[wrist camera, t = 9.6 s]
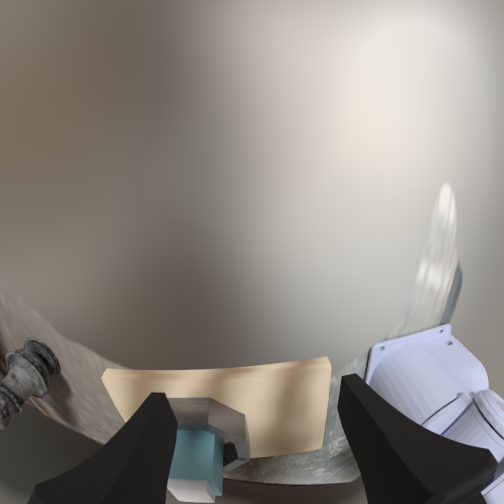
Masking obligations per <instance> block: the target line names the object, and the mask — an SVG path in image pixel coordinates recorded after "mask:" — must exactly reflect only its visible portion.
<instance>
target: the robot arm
mask: <svg viewBox="0 0 504 504" xmlns="http://www.w3.org/2000/svg"><path fill="white" fill-rule="evenodd" d="M451 328H452V326H451V325H450V324H445V325H442V326H439V327H436V328H432V329H429V330H426V331H422V332H419V333H415V334H412V335H408V336H404V337H400V338H397V339H393V340H389V341H385V342H380V343H376V344H374V345H373V346H372V347H371V350H370V356H369V362H368V367H367V373H366V378H365V381H364V380H363V379H362V378H361V377H359V376H358V375H357V374H356V373H355V374H350V375H345V376H342V378H341V386H340V393H339V400H338V406H337V409H338V413H339V417H340V420H341V424H342V428H343V430H344V433H345V435H346V438H347V440H348V442H349V445H350V447H351V450H352V452H353V455H354V457H355V459H356V462H357V464H358V467H359V470H360V473H361V476H362V479H363V484H364V487H365V492H366V496H367V500H368V504H504V400H503V399H501V398H500V397H499V396H498V395H497V394H496V393H494V392H493V391H492V390H490V389H488V378H487V374H486V371H485V369H484V367H483V365H482V364H481V363H480V362H479V361H478V359H477V358H475V357H474V356H473V355H472V354H471V353H470V352H469V351H468V350H467V349H466V348H465V347H464V346H463V345H462V344H461V343H460V342H459V341H458V340H457V339H456V338H455V337H453V336H452V335H451V334H450V332H451ZM381 347H382V348H381ZM380 348H381V349H380ZM177 426H178V422H177V420H176V417H175V415H174V413H173V410H172V408H171V406H170V403H169V401H168V399H167V396H166V394H165V392H151V393H150V394H149V396H148V397H147V398H146V399H145V400H144V402H143V403H142V404H141V405H140V407H139V408H138V409H137V410H136V412H135V413H134V414H133V415H132V416H131V418H130V419H129V420H128V421H127V422H126V423H125V424H124V426H123V427H122V428H121V429H120V430H119V431H118V432H117V433H116V434H115V435H114V436H113V437H112V438H111V439H110V440H109V441H108V442H107V443H106V444H105V445H104V446H103V447H102V448H100V449H99V450H98V451H97V452H96V453H94V454H93V455H92V456H91V457H89V458H88V459H87V460H85V461H83V462H82V463H80V464H79V465H77V466H76V467H74V468H72V469H71V470H69V471H67V472H65V473H63V474H61V475H59V476H57V477H55V478H52V479H50V480H47V481H44V482H42V483H39V484H36V485H35V487H34V489H33V492H32V494H31V496H30V499H29V501H28V503H27V504H165V499H166V488H167V482H168V478H169V473H170V468H171V464H172V459H173V455H174V450H175V445H176V439H177Z"/></svg>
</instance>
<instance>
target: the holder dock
mask: <svg viewBox="0 0 504 504" xmlns="http://www.w3.org/2000/svg"><path fill="white" fill-rule="evenodd" d="M101 379H102V381H103V383H104V385H105V387H106V389H107V391H108V393H109V395H110V397H111V398H112V400H113V402H114V404H115V406H116V407H117V409H118V411H119V413H120V414H121V416H122V418H123V419H124V421H125V423H126V422H127V421H128V420H129V419H130V418H131V416H132V415H133V414H134V413H135V412H136V410H137V409H138V408H139V407H140V405H141V404H142V403H143V402H144V400H145V399H146V398H147V397H148V396H149V394H150V393H151V392H165V394H166V396H167V399H168V401H169V403H170V406H171V408H172V410H173V413H174V415H175V417H176V420H177V422H178V426H177V430H189V431H207V432H209V433H211V434H214V435H216V436H218V437H221V438H223V439H224V452H223V473H227V472H229V471H231V470H233V469H235V468H237V467H238V466H240V465H242V464H244V463H246V462H248V461H250V458H257V457H268V456H277V455H286V454H293V453H299V452H306V451H311V450H317V449H322V443H323V436H324V430H325V422H326V415H327V407H328V398H329V389H330V379H331V364H330V362H329V360H328V357H327V356H325V357H319V358H313V359H306V360H300V361H293V362H285V363H277V364H269V365H260V366H249V367H237V368H223V369H204V370H163V371H162V370H125V369H106V371H105V372H104V374H103V376H102V377H101Z"/></svg>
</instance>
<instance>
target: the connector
mask: <svg viewBox="0 0 504 504" xmlns="http://www.w3.org/2000/svg"><path fill="white" fill-rule="evenodd" d="M223 452H224V439H223V438H221V437H218V436H216V435H214V434H211V433H209V432H207V431H189V430H177V439H176V445H175V450H174V455H173V459H172V464H171V468H170V473H169V478H168V482H167V483H168V486H167V488H168V489H169V490H170V492H171V493H172V494H173V495H174V496H175V497H176V498H177V499H178V500H179V501H186V502H203V503H214V502H215V496H222V480H223Z"/></svg>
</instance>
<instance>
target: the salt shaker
mask: <svg viewBox="0 0 504 504" xmlns="http://www.w3.org/2000/svg"><path fill="white" fill-rule="evenodd" d="M6 364H7V367H8V369H9V372H8V374H7V376H6V377H5V378H4V379H3V381H2V382H1V383H0V430H3V429H5V428H6V427H7V425H8V424H9V422H10V421H11V419H12V418H13V416H14V415H15V414H16V412H17V413H21V412H22V408H21V406H22V405H23V404H24V402H25V401H26V399H27V398H28V397H30V396H31V395H33V396H35V397H37V398H45V397H46V396H47V395H48V388H49V384H50V377H56V376H58V375H59V373H60V365H59V362H58V360H57V358H56V356H55V355H54V353H53V352H52V351H51V349H50V348H49V347H48V346H47V345H46V344H44V343H43V342H42V341H40V340H39V339H37V338H34V337H28V338H26V339H25V341H24V349H18V350H15V351H14V352H9V353H7V355H6Z"/></svg>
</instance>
